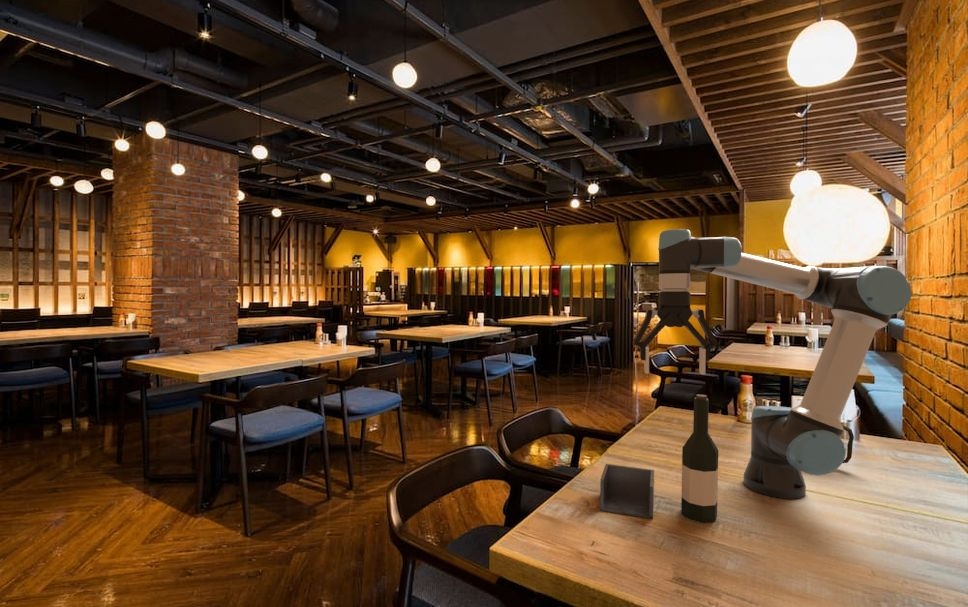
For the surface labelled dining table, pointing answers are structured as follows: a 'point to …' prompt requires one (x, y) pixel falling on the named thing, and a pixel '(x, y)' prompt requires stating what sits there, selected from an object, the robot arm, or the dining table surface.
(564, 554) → the dining table surface
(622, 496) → the bottle rest
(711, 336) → the robot arm
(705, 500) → the wine bottle
